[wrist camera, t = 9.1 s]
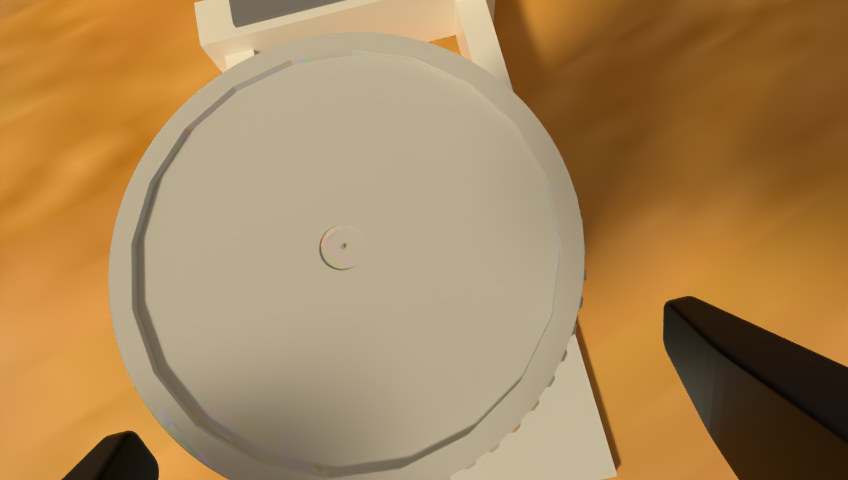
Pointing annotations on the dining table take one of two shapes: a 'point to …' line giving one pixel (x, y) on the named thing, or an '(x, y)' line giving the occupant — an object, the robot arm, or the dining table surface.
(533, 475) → the mat
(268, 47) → the dock
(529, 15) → the dining table surface
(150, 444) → the dining table surface
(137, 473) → the robot arm
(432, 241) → the bottle
